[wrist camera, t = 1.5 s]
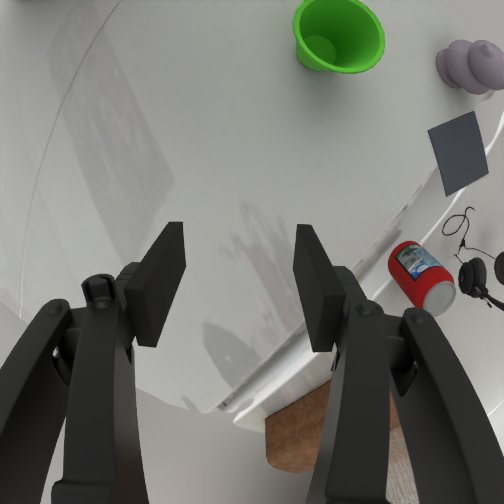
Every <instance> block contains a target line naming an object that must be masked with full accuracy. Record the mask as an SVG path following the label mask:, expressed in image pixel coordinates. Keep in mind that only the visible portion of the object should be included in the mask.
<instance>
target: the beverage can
mask: <svg viewBox="0 0 504 504" xmlns="http://www.w3.org/2000/svg"><path fill="white" fill-rule="evenodd" d="M388 269H389V272H390V274H391V275H392V276H393V278H394V279H395V281H396V282H397V283H398V285H399V286H400V287H401V289H402V290H403V291H404V293H405V294H406V295H407V297H408V298H409V300H410V301H411V302H412V304H413V305H414V306H415V308H421V309H424V310H425V311H427V312H428V313H430V314H431V315H432V316H438V315H440V314H442V313H444V312H445V311H446V310H447V309H448V308H449V307H450V306H451V304H452V303H453V301H454V299H455V296H456V288H455V286H454V280H453V277H452V275H451V274H450V273H449V272H448V271H447V270H446V269H445V268H444V267H443V266H442V265H441V264H440V263H439V262H438V261H437V260H436V259H435V258H434V257H433V256H431V255H430V254H429V253H428V252H427V251H426V250H425V249H424V248H423V247H421V246H420V245H419V244H418V243H416V242H414V241H406V242H403V243H401V244H399V245H398V246H397V247H396V248H395V249H394V250H393V252H392V253H391V255H390V257H389V260H388Z"/></svg>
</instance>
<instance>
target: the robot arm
mask: <svg viewBox="0 0 504 504" xmlns="http://www.w3.org/2000/svg"><path fill="white" fill-rule="evenodd" d="M185 268H186V260H185V248H184V235H183V222H168V224H167V225H166V227H165V228H164V229H163V231H162V232H161V234H160V235H159V236H158V238H157V239H156V241H155V242H154V243H153V245H152V246H151V248H150V249H149V251H148V252H147V253H146V255H145V256H144V258H143V259H142V261H141V262H131V263H130V264H128V265H127V266H125V267H124V268H123V270H122V271H121V272H120V275H118V276H117V278H116V280H115V279H114V277H113V276H112V275H109V274H97V275H93V276H91V277H89V278H87V279H86V280H84V281H83V283H82V284H81V286H82V289H83V293H84V296H85V299H86V303H87V305H86V307H83V308H75V309H71V308H70V305H69V303H68V301H66V300H64V299H54V300H51V301H49V302H48V303H46V304H45V305H44V306H43V307H42V308H41V309H40V311H39V312H38V313H37V315H36V316H35V317H34V319H33V320H32V322H31V323H30V324H29V326H28V327H27V329H26V330H25V332H24V333H23V335H22V336H21V338H20V339H19V340H18V342H17V344H16V345H15V346H14V348H13V350H12V351H11V353H10V354H9V356H8V357H7V359H6V361H5V362H4V364H3V366H2V367H1V369H0V504H40V502H41V498H42V493H43V489H44V485H45V481H46V477H47V474H48V470H49V466H50V463H51V459H52V456H53V453H54V449H55V446H56V443H57V440H58V437H59V434H60V431H61V428H62V425H63V422H64V419H65V417H66V424H65V439H64V462H63V477H62V479H61V480H59V481H57V482H55V483H54V485H53V486H52V491H51V504H149V500H148V495H147V489H146V484H145V478H144V472H143V464H142V457H141V449H140V441H139V431H138V421H137V407H136V392H135V363H134V349H133V346H132V342H133V339H134V337H135V336H136V339H137V343H138V346H146V347H155V348H156V346H157V343H158V340H159V338H160V335H161V332H162V329H163V326H164V324H165V321H166V318H167V315H168V313H169V310H170V307H171V305H172V302H173V299H174V297H175V294H176V291H177V289H178V286H179V283H180V281H181V278H182V276H183V273H184V271H185ZM293 272H294V276H295V280H296V284H297V288H298V292H299V296H300V300H301V304H302V308H303V312H304V317H305V321H306V325H307V329H308V333H309V338H310V342H311V346H312V351H313V352H332V348H333V345H334V341H335V344H336V347H337V352H336V355H335V358H334V362H333V365H332V368H331V371H333V374H332V380H331V387H330V393H329V399H328V405H327V411H326V416H325V422H324V427H323V432H322V437H321V442H320V446H319V451H318V455H317V460H316V464H315V468H314V472H313V476H312V480H311V484H310V488H309V492H308V495H307V499H306V503H305V504H391V503H390V502H389V501H388V500H387V498H386V487H387V476H388V463H389V444H390V391H391V394H392V397H393V401H394V404H395V407H396V411H397V414H398V417H399V421H400V424H401V428H402V432H403V435H404V439H405V443H406V447H407V451H408V455H409V459H410V463H411V467H412V471H413V476H414V480H415V485H416V490H417V495H418V500H419V504H504V456H503V454H502V451H501V449H500V446H499V443H498V441H497V438H496V436H495V433H494V431H493V428H492V426H491V424H490V422H489V419H488V417H487V415H486V413H485V410H484V408H483V406H482V404H481V402H480V400H479V398H478V396H477V394H476V392H475V390H474V388H473V386H472V384H471V382H470V380H469V378H468V376H467V374H466V372H465V370H464V369H463V367H462V365H461V363H460V361H459V359H458V358H457V356H456V354H455V352H454V351H453V349H452V347H451V345H450V344H449V342H448V340H447V339H446V337H445V335H444V334H443V332H442V330H441V329H440V327H439V326H438V324H437V322H436V321H435V319H434V318H433V316H432V315H431V314H430V313H428V312H427V311H425V310H424V309H421V308H414V307H412V308H408V309H406V310H405V311H404V314H403V317H397V316H391V315H387V314H384V311H383V309H382V307H381V306H380V305H379V304H377V303H376V302H374V301H371V300H368V299H367V298H366V296H365V294H364V292H363V291H362V289H361V287H360V285H359V283H358V282H357V280H356V278H355V276H354V275H353V273H352V272H351V271H350V270H349V269H347V268H346V267H345V266H332V264H331V262H330V260H329V258H328V256H327V254H326V252H325V250H324V248H323V246H322V244H321V242H320V241H319V239H318V237H317V235H316V233H315V231H314V229H313V227H312V225H309V224H297V231H296V242H295V252H294V262H293ZM55 348H56V350H57V354H56V356H55V357H54V356H53V351H54V349H55Z"/></svg>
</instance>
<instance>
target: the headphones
mask: <svg viewBox="0 0 504 504" xmlns="http://www.w3.org/2000/svg"><path fill="white" fill-rule="evenodd" d="M468 208H472V207H468ZM468 208H466V210H467V209H468ZM472 209H473V208H472ZM474 210H475V209H474ZM454 216H465V217H466V211H465V215H454ZM454 216H452V217H454ZM452 217H450V218H452ZM450 218H449V219H450ZM466 218H467V217H466ZM449 219H448V220H449ZM464 219H465V218H464ZM467 219H468V218H467ZM448 220H447V221H448ZM463 222H464V220H463ZM463 222H462V223H463ZM446 223H447V222H446ZM446 223H445V224H446ZM468 223H469V220H468ZM461 225H462V224H461ZM444 226H445V225H444ZM460 227H461V226H460ZM460 227H459V228H460ZM443 228H444V227H443ZM468 228H469V224H468ZM458 230H459V229H458ZM458 230H457V231H458ZM457 231H456V232H457ZM467 231H468V229H467ZM467 231H466V233H467ZM442 232H443V231H442ZM456 232H454V233H456ZM454 233H452V234H454ZM443 234H444V233H443ZM444 235H445V234H444ZM449 235H451V234H449ZM465 235H466V234H465ZM464 237H465V236H464ZM462 246H464V247H465V239H464V238H463V239H462V243H461V245H460V247H462ZM466 249H467V248H466ZM470 249H474V248H470ZM476 250H477V249H476ZM478 251H480V250H478ZM459 252H460V249H459ZM481 252H482V251H481ZM483 253H484V252H483ZM458 254H459V253H458ZM458 254H457V255H458ZM485 254H486V253H485ZM454 255H455V254H454ZM457 255H455V256H456V257H457ZM487 255H488V254H487ZM488 256H490V255H488ZM490 257H491V256H490ZM457 258H458V257H457ZM492 258H493V257H492ZM458 259H459V258H458ZM494 259H495V258H494ZM459 260H460V259H459ZM460 262H461V261H460ZM461 263H462V262H461ZM462 264H463V265H462V266H461V268H460V270H459V276H458V280H459V287H460V289H461V292H462V293H463V294H467V295H470V296H471V297H473V298H478V297H480V299H481V300H482V299H484V300H485V301H486V302H487V304H488V305H489V307H490V308H492V306H491V305H490V304H489V302H488V301H487V300H486V299H485V298H487V299H488V300H489V301H490V302H491V303H493V304H494V305H495V306H496V307H498V308H500V309H501V310H503V311H504V303H502V302H499V301H498V300H496V299H494V298H492V297H491V296H490V295H489V294H488V289H487V288H486V287H485V286H486V273H487V272H486V267H485V264H484V262H483V260H482V259H481V258H478V257H477V258H473V259H472V260H470V261H469V262H465V263H462ZM494 270H495V275H496V277H497V280H498V281H499V282H500V283H501V284H502V285H504V252H501V253H500V254H499V255H498V256H497V258H496V260H495V264H494Z"/></svg>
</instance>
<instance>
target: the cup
mask: <svg viewBox="0 0 504 504" xmlns="http://www.w3.org/2000/svg"><path fill="white" fill-rule="evenodd" d="M293 32H294V35H295V38H296V40H297V55H298V58H299V60H300V61H301V63H302V64H303V65H304V66H306V67H307V68H309V69H312V70H315V71H333V72H338V73H343V74H356V73H360V72H364V71H367V70H368V69H370V68H372V67H374V66H375V65H376V63H377V62H378V61H379V60H380V59H381V57H382V55H383V52H384V47H385V36H384V31H383V28H382V26H381V23H380V22H379V20H378V18H377V17H376V15H375V14H374V13H373V12H372V11H371V10H370V9H369V8H368V7H367V6H366V5H364V4H363V3H361V2H360V1H358V0H305V1H304V2H302V3H301V4H300V5H299V7H298V8H297V10H296V12H295V14H294V19H293Z"/></svg>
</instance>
